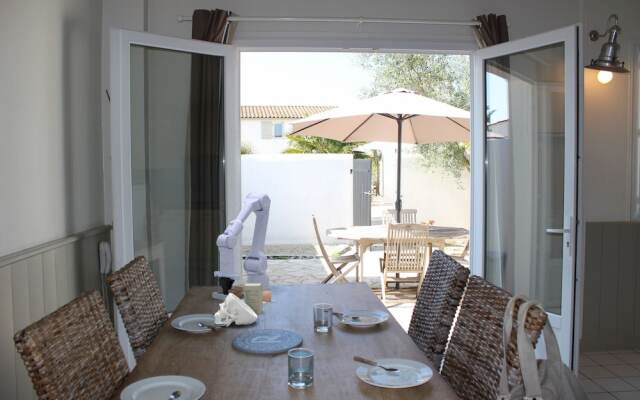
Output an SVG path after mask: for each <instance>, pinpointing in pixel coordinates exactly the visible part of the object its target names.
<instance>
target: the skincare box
mask: <svg viewBox="0 0 640 400" xmlns="http://www.w3.org/2000/svg"><path fill="white" fill-rule="evenodd" d="M243 285H244V303H245V304H247V305H248V306H249V307H250V308H251V309H252V310H253V311H254V312H255V313H256V315H261V314H262V313H263V312H264V308H263V307H264V306H263V305H264V304H263V303H262V283H261V284H247V283H245V284H243Z"/></svg>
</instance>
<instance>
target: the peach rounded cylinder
mask: <svg viewBox="0 0 640 400" xmlns="http://www.w3.org/2000/svg"><path fill="white" fill-rule="evenodd" d="M271 299H272V290H270V289H269V290H264V291H262V301H263V302H269V303H272V302H271Z"/></svg>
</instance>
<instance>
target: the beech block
mask: <svg viewBox="0 0 640 400" xmlns="http://www.w3.org/2000/svg"><path fill="white" fill-rule="evenodd" d="M244 285H245V284H237V285H234V289H235V288H236V289H241V290H242V293H244Z"/></svg>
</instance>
